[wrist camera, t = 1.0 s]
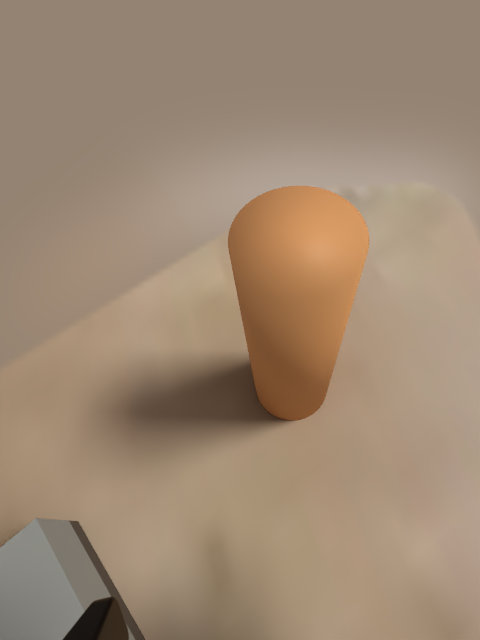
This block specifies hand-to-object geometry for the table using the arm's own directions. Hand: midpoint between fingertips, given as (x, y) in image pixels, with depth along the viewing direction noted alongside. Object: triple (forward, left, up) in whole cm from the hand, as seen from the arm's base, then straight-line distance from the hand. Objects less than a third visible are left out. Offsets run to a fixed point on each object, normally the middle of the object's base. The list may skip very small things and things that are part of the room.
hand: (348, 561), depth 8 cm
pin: (+6, -5, -13) cm, 15 cm away
